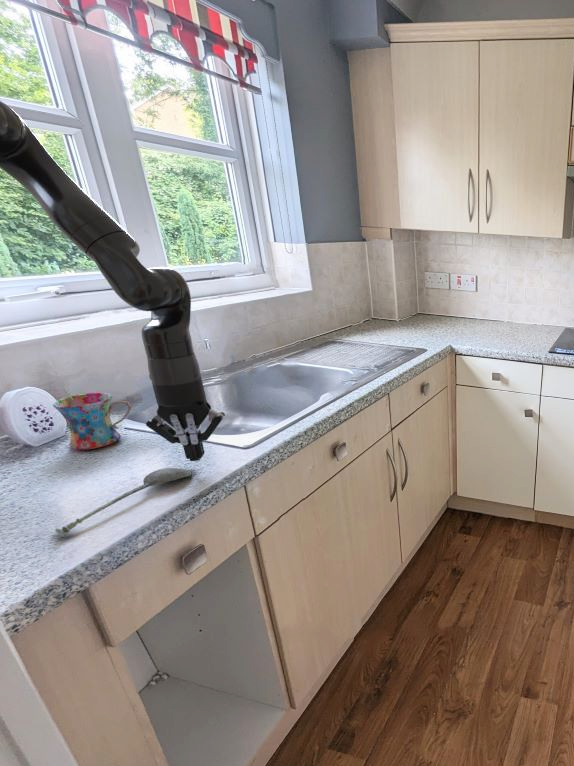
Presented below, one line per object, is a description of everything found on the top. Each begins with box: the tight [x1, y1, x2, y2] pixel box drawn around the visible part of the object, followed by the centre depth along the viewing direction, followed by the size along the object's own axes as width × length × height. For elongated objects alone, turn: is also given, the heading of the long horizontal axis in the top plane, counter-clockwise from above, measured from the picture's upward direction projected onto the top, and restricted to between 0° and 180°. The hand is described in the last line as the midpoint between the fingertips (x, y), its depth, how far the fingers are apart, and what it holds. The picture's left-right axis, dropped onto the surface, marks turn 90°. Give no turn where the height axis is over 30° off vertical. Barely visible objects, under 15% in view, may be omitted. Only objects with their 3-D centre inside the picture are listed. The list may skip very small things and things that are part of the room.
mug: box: [52, 392, 132, 450], centre depth 101 cm, size 12×9×11 cm
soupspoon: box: [55, 467, 192, 538], centre depth 81 cm, size 22×3×7 cm
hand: (196, 459), depth 91 cm, fingers closed
